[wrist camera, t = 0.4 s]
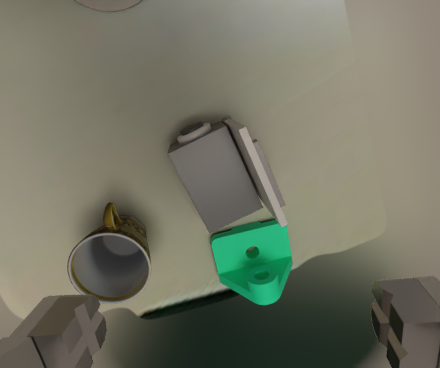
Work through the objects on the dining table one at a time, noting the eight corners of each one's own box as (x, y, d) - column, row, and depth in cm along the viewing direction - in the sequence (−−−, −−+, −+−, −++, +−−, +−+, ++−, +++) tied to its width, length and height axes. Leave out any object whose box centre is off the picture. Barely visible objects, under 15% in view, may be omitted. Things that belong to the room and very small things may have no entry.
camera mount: (280, 215, 50) (304, 244, 40) (287, 256, 52) (311, 293, 42) (208, 232, 49) (215, 266, 39) (218, 273, 51) (226, 315, 41)
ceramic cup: (158, 263, 49) (151, 303, 40) (93, 264, 48) (71, 306, 39) (156, 185, 46) (149, 209, 36) (87, 185, 45) (60, 209, 35)
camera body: (165, 136, 44) (162, 143, 37) (216, 112, 44) (221, 114, 37) (205, 214, 48) (209, 233, 41) (252, 191, 48) (263, 207, 41)
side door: (221, 119, 44) (236, 128, 31) (231, 114, 43) (251, 121, 31) (255, 193, 47) (281, 229, 34) (264, 189, 47) (294, 223, 34)
